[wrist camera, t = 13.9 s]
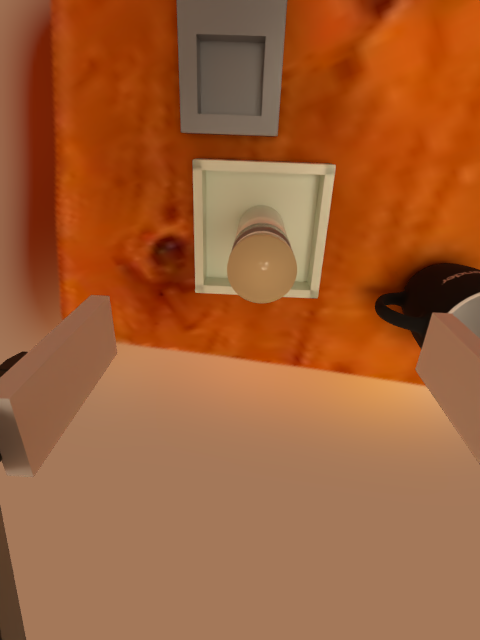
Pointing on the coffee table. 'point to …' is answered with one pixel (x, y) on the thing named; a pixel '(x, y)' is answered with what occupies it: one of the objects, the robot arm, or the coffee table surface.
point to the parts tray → (251, 190)
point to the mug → (435, 299)
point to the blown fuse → (261, 257)
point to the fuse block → (230, 65)
